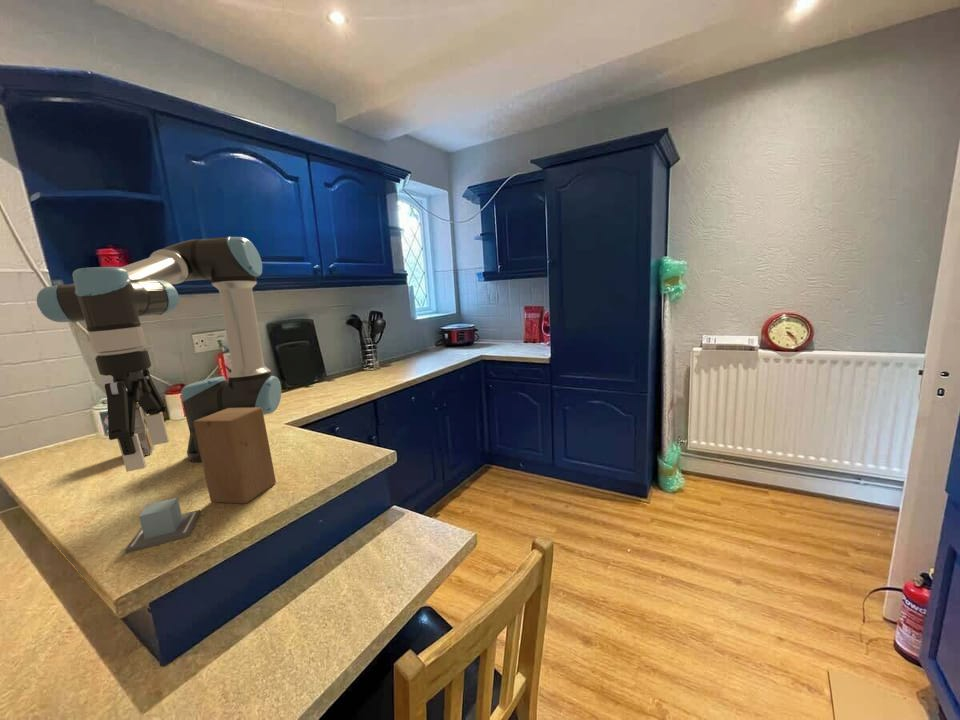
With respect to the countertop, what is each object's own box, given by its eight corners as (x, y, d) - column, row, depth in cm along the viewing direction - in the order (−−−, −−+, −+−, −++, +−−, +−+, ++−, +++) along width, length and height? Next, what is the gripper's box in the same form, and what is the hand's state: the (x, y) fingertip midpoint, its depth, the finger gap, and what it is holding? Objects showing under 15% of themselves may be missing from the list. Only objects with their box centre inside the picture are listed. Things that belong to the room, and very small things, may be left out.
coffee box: (130, 452, 130) (118, 405, 127) (155, 446, 134) (144, 401, 131) (125, 461, 123) (112, 411, 120) (151, 454, 126) (140, 407, 123)
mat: (144, 525, 83) (144, 523, 83) (200, 512, 87) (200, 509, 87) (125, 552, 74) (124, 549, 74) (188, 536, 78) (187, 533, 78)
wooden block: (246, 504, 89) (229, 420, 86) (209, 503, 91) (191, 421, 88) (277, 482, 99) (262, 406, 95) (243, 482, 101) (228, 407, 97)
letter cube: (182, 519, 84) (177, 497, 83) (175, 531, 79) (169, 508, 78) (153, 526, 82) (147, 504, 81) (143, 539, 77) (137, 516, 76)
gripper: (123, 345, 84) (148, 438, 88) (58, 365, 61) (95, 488, 66) (166, 341, 87) (188, 430, 91) (118, 358, 64) (151, 476, 69)
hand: (149, 455), depth 79 cm, fingers open, 13 cm apart
